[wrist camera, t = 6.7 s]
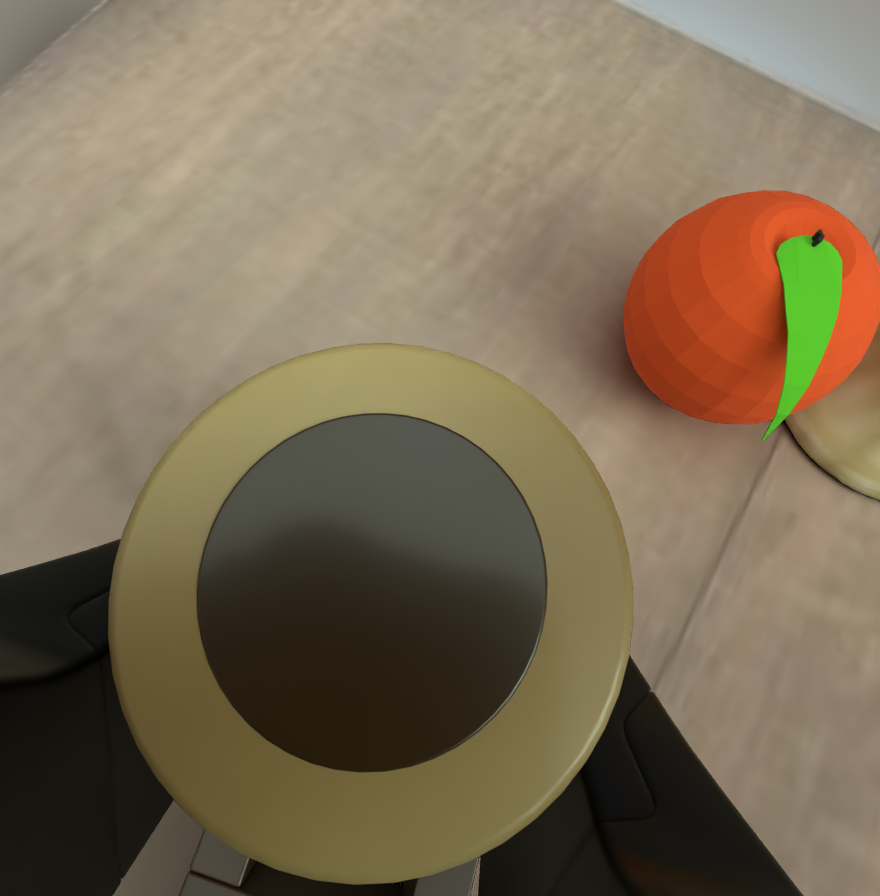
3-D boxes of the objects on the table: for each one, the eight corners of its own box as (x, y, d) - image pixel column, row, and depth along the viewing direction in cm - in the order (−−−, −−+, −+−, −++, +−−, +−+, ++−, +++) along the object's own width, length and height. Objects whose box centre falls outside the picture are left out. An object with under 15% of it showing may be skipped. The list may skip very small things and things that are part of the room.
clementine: (788, 494, 19) (990, 426, 12) (589, 466, 19) (679, 384, 12) (778, 293, 21) (942, 143, 15) (600, 269, 22) (681, 110, 15)
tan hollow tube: (493, 633, 15) (750, 696, 3) (388, 693, 15) (219, 1036, 3) (438, 530, 16) (477, 266, 4) (336, 583, 15) (29, 465, 3)
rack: (371, 1205, 14) (356, 1364, 11) (126, 1110, 14) (50, 1237, 11) (538, 543, 18) (559, 529, 16) (353, 485, 19) (340, 462, 16)
